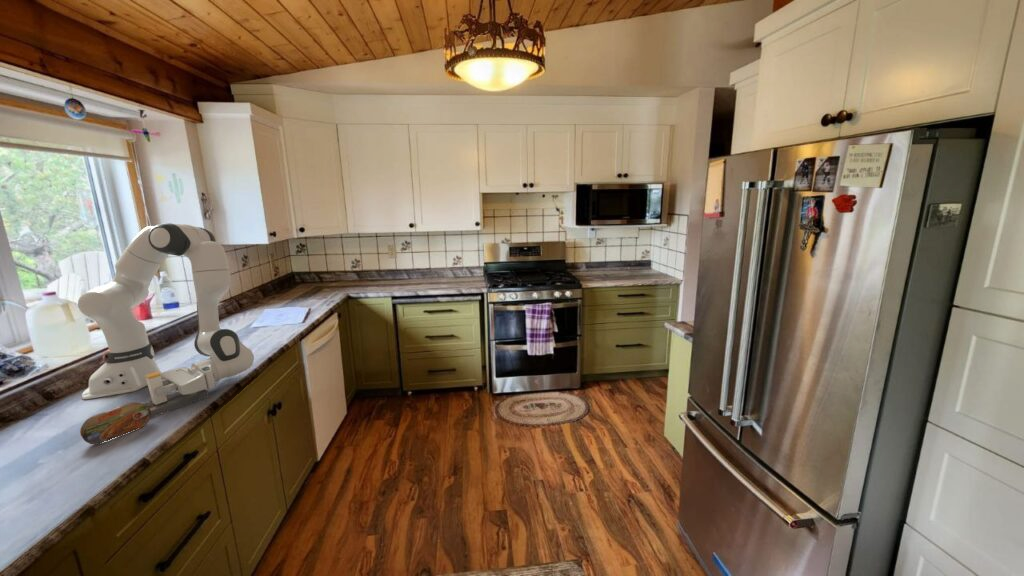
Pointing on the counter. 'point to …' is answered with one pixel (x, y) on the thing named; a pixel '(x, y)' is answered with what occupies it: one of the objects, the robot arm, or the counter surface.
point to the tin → (115, 422)
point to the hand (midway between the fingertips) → (153, 390)
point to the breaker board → (175, 402)
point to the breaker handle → (155, 382)
